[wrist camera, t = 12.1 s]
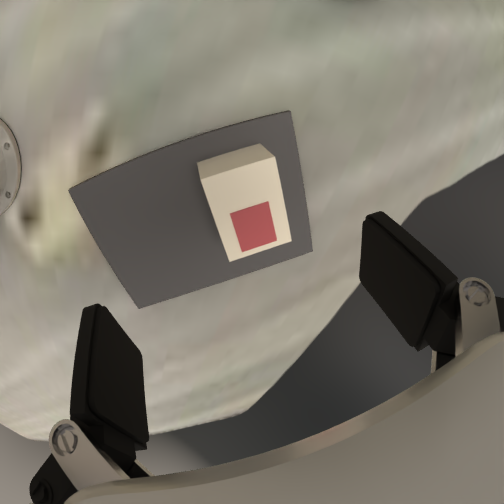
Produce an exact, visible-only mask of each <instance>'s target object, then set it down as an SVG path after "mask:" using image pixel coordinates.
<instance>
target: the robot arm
mask: <svg viewBox="0 0 504 504" xmlns="http://www.w3.org/2000/svg"><path fill="white" fill-rule="evenodd" d="M9 144H10V145H9ZM20 177H21V163H20V155H19V150H18V146H17V143H16V141H15V138H14V136H13V134H12V132H11V130H10V129H9V128H8V126H7V125H6V124H5V123H4V122H3V121H2V120H1V119H0V215H1V214H2V213H3V212H5V211H6V210H7V208H8V207H9V206H10V205H11V204H12V202H13V200H14V199H15V197H16V194H17V191H18V188H19V183H20ZM359 278H360V281H361V283H362V285H363V286H364V287H365V288H366V290H367V291H368V292H369V293H370V295H371V296H372V297H373V299H374V300H375V301H376V302H377V304H378V305H379V306H380V307H381V308H382V310H383V311H384V312H385V314H386V315H387V316H388V318H389V319H390V320H391V322H392V323H393V324H394V326H395V327H396V328H397V329H398V331H399V332H400V334H401V335H402V336H403V338H404V339H405V340H406V342H407V343H408V344H409V345H410V346H412V347H413V346H414V347H415V348H416V350H417V351H420V350H422V349H423V348H425V347H426V346H428V345H430V347H431V348H432V349H433V350H432V365H431V374H430V375H429V376H427V377H426V378H424V379H423V380H421V381H420V382H418V383H416V384H415V385H413V386H412V387H410V388H408V389H407V390H405V391H403V392H402V393H400V394H398V395H396V396H395V397H393V398H391V399H389V400H387V401H386V402H384V403H382V404H380V405H378V406H377V407H375V408H373V409H371V410H369V411H367V412H365V413H363V414H361V415H359V416H357V417H355V418H353V419H350V420H348V421H346V422H344V423H342V424H340V425H337V426H335V427H333V428H331V429H328V430H326V431H323V432H321V433H319V434H316V435H314V436H311V437H308V438H306V439H304V440H301V441H298V442H295V443H293V444H290V445H287V446H284V447H281V448H278V449H275V450H272V451H268V452H265V453H262V454H259V455H255V456H252V457H248V458H245V459H241V460H237V461H234V462H229V463H225V464H221V465H216V466H212V467H207V468H202V469H197V470H191V471H185V472H179V473H173V474H166V475H159V476H154V475H153V474H152V473H151V472H150V471H149V470H147V468H146V467H144V466H143V465H142V464H141V463H140V462H139V461H138V460H137V459H136V453H135V451H138V450H146V449H147V446H146V442H148V441H149V432H148V423H147V414H146V404H145V392H144V377H143V359H142V355H141V352H140V350H139V349H138V348H137V347H136V345H135V344H134V343H133V342H132V340H131V339H130V338H129V337H128V335H127V334H126V333H125V331H124V330H123V329H122V328H121V326H120V325H119V324H118V322H117V321H116V320H115V318H114V317H113V316H112V314H111V313H110V312H109V310H108V309H107V308H106V307H105V306H101V305H100V304H94V305H91V306H88V307H85V308H84V309H83V312H82V317H81V322H80V328H79V333H78V339H77V346H76V353H75V360H74V368H73V378H72V388H71V401H70V420H69V419H64V420H61V421H59V422H57V423H56V424H55V425H54V426H53V428H52V429H51V432H50V435H49V446H50V449H51V452H52V453H51V455H50V456H49V458H48V459H47V460H46V461H45V463H44V464H43V465H42V467H41V468H40V469H39V471H38V472H37V473H36V475H35V476H34V477H33V479H32V481H31V483H30V496H31V499H32V501H33V503H30V504H504V298H500V297H495V296H494V293H493V290H492V289H491V287H490V286H489V285H488V284H487V283H486V282H485V281H483V280H481V279H478V278H466V279H464V280H463V281H462V282H461V284H459V283H458V282H457V279H458V278H457V277H456V276H455V275H454V274H453V273H452V272H451V271H450V270H449V269H448V268H447V267H446V266H445V265H444V264H443V263H442V262H441V261H440V260H438V259H437V258H436V257H435V256H434V255H433V254H432V253H431V252H430V251H429V250H428V249H426V248H425V247H424V246H423V245H422V244H421V243H420V242H419V241H417V240H416V239H415V238H414V237H413V236H411V235H410V234H409V233H408V232H407V231H406V230H404V229H403V228H402V227H401V226H400V225H399V224H397V223H396V222H395V221H394V220H393V219H391V218H390V217H389V216H388V215H386V214H385V213H384V212H382V211H379V212H376V213H373V214H370V215H367V216H366V219H365V221H363V226H362V245H361V259H360V272H359Z"/></svg>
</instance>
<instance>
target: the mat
mask: <svg viewBox="0 0 504 504" xmlns="http://www.w3.org/2000/svg"><path fill="white" fill-rule="evenodd" d="M259 143H260V144H261V145H262V146H264V147H265V148H266V149H267V150H268V151H269V152H270V153H271V154H273V155H274V156H275V159H276V163H277V168H278V173H279V178H280V183H281V188H282V193H283V198H284V203H285V208H286V213H287V218H288V223H289V229H290V234H291V240H292V241H290V242H288V243H285V244H282V245H279V246H276V247H273V248H270V249H267V250H264V251H261V252H258V253H255V254H252V255H249V256H246V257H243V258H240V259H237V260H234V261H231V262H229V259H228V256H227V254H226V251H225V248H224V245H223V242H222V240H221V237H220V234H219V231H218V228H217V226H216V223H215V220H214V217H213V214H212V211H211V209H210V206H209V203H208V200H207V197H206V194H205V191H204V188H203V186H202V183H201V180H200V175H199V170H198V165H197V162H200V161H203V160H206V159H210V158H213V157H216V156H219V155H222V154H225V153H228V152H232V151H235V150H238V149H242V148H245V147H249V146H252V145H256V144H259ZM68 191H69V193H70V195H71V197H72V199H73V201H74V203H75V205H76V207H77V209H78V211H79V213H80V214H81V216H82V218H83V220H84V222H85V224H86V226H87V227H88V229H89V231H90V233H91V234H92V236H93V238H94V240H95V241H96V243H97V245H98V246H99V248H100V250H101V252H102V253H103V255H104V257H105V258H106V260H107V261H108V263H109V265H110V266H111V268H112V269H113V271H114V273H115V274H116V276H117V277H118V279H119V280H120V282H121V283H122V285H123V286H124V288H125V289H126V291H127V292H128V294H129V295H130V297H131V298H132V300H133V301H134V303H135V304H136V306H137V307H138V308H139V309H140V308H143V307H146V306H149V305H153V304H156V303H159V302H162V301H165V300H168V299H171V298H174V297H178V296H181V295H184V294H187V293H190V292H193V291H196V290H199V289H202V288H205V287H208V286H212V285H215V284H218V283H221V282H224V281H227V280H230V279H233V278H236V277H239V276H242V275H245V274H248V273H251V272H254V271H257V270H260V269H263V268H266V267H268V266H271V265H274V264H277V263H280V262H283V261H286V260H289V259H292V258H295V257H298V256H301V255H303V254H306V253H309V252H312V251H313V249H312V241H311V233H310V225H309V218H308V211H307V204H306V197H305V191H304V184H303V178H302V172H301V166H300V160H299V154H298V148H297V143H296V137H295V132H294V127H293V121H292V116H291V111H285V112H280V113H276V114H272V115H268V116H263V117H259V118H255V119H252V120H248V121H244V122H240V123H237V124H233V125H230V126H226V127H223V128H220V129H216V130H213V131H210V132H207V133H203V134H200V135H197V136H194V137H191V138H188V139H185V140H182V141H180V142H177V143H174V144H171V145H168V146H166V147H163V148H160V149H158V150H155V151H152V152H150V153H147V154H145V155H142V156H140V157H137V158H135V159H133V160H130V161H128V162H125V163H123V164H121V165H118V166H116V167H114V168H112V169H109V170H107V171H105V172H103V173H101V174H99V175H96V176H94V177H92V178H90V179H88V180H86V181H84V182H82V183H80V184H78V185H76V186H74V187H72V188H70V189H69V190H68Z"/></svg>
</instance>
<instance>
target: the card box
mask: <svg viewBox="0 0 504 504" xmlns="http://www.w3.org/2000/svg"><path fill="white" fill-rule="evenodd" d="M197 165H198V170H199V175H200V180H201V183H202V186H203V188H204V191H205V194H206V197H207V200H208V203H209V206H210V209H211V211H212V214H213V217H214V220H215V223H216V226H217V228H218V231H219V234H220V237H221V240H222V242H223V245H224V248H225V251H226V254H227V256H228V259H229V262H231V261H234V260H237V259H240V258H243V257H246V256H249V255H252V254H255V253H258V252H261V251H264V250H267V249H270V248H273V247H276V246H279V245H282V244H285V243H288V242H290V241H292V240H291V234H290V229H289V223H288V218H287V213H286V208H285V203H284V198H283V193H282V188H281V183H280V178H279V173H278V168H277V163H276V159H275V156H274V155H273V154H271V153H270V152H269V151H268V150H267V149H266V148H265V147H264V146H262V145H261V144H260V143H259V144H256V145H252V146H249V147H245V148H242V149H238V150H235V151H232V152H228V153H225V154H222V155H219V156H216V157H213V158H210V159H206V160H203V161H200V162H197Z"/></svg>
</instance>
